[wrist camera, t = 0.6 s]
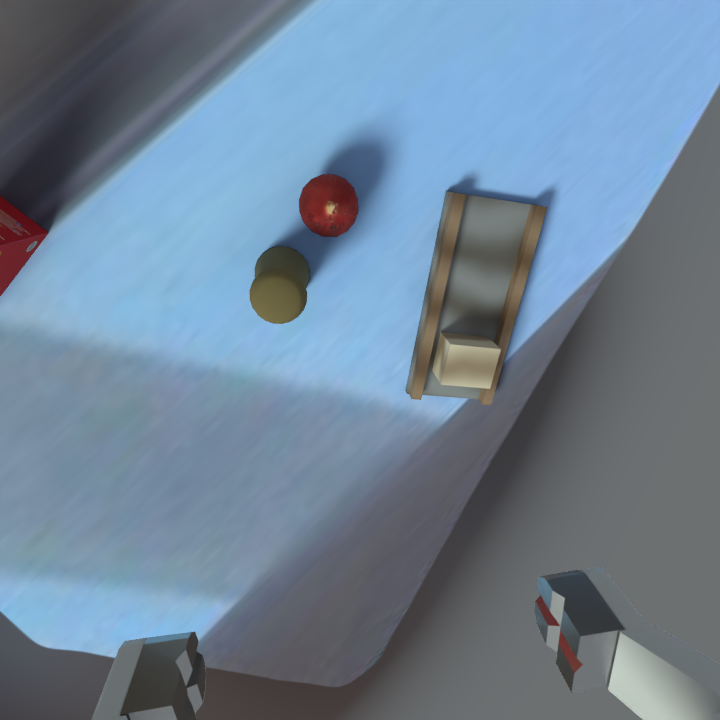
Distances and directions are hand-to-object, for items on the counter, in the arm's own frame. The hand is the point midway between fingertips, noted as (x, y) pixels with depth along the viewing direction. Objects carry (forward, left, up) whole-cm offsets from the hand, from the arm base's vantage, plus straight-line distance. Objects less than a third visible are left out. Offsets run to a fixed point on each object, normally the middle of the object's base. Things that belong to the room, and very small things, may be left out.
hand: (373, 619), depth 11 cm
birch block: (+9, +18, -44) cm, 48 cm away
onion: (-6, 0, -44) cm, 44 cm away
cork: (+2, -4, -44) cm, 44 cm away
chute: (+3, +18, -44) cm, 47 cm away
